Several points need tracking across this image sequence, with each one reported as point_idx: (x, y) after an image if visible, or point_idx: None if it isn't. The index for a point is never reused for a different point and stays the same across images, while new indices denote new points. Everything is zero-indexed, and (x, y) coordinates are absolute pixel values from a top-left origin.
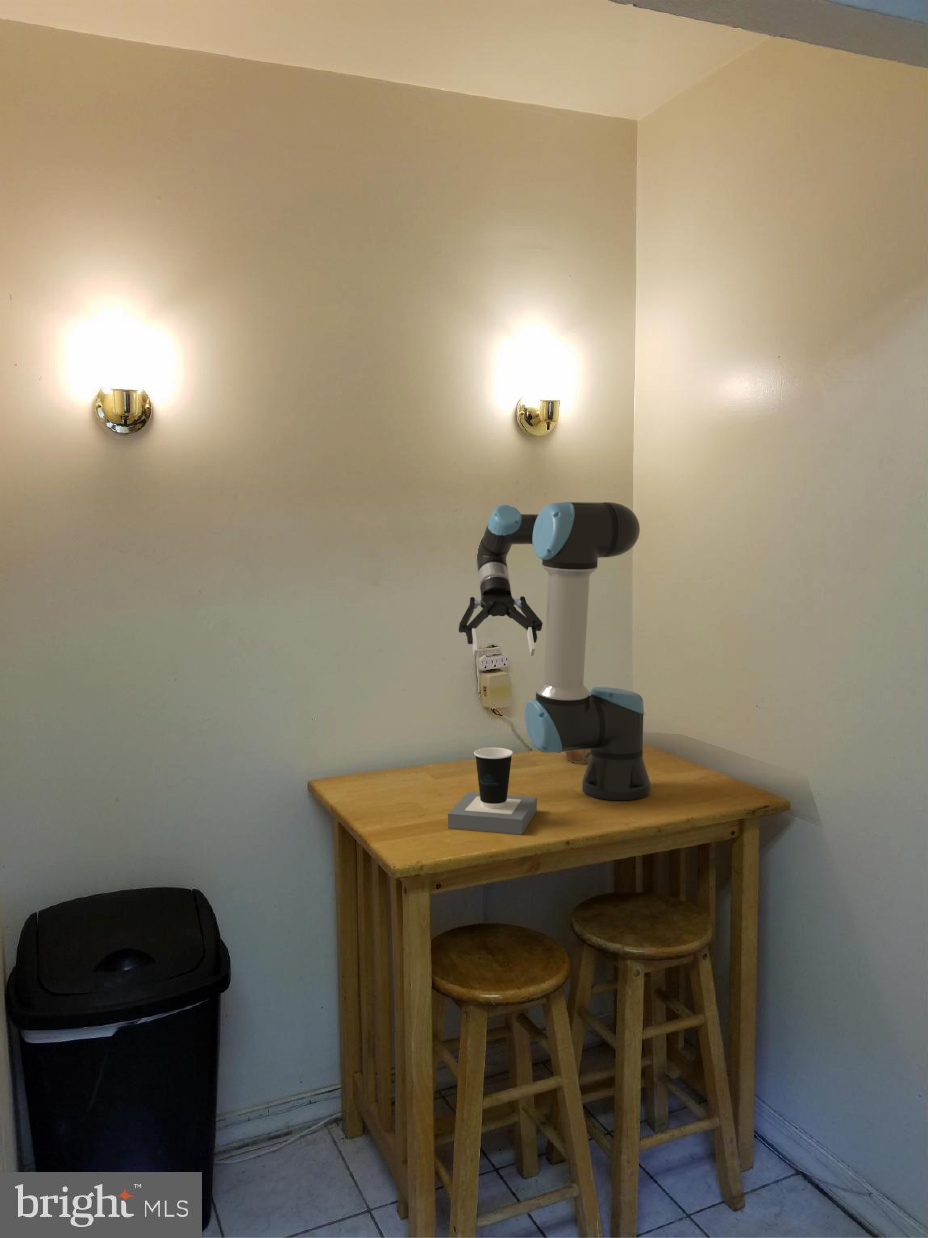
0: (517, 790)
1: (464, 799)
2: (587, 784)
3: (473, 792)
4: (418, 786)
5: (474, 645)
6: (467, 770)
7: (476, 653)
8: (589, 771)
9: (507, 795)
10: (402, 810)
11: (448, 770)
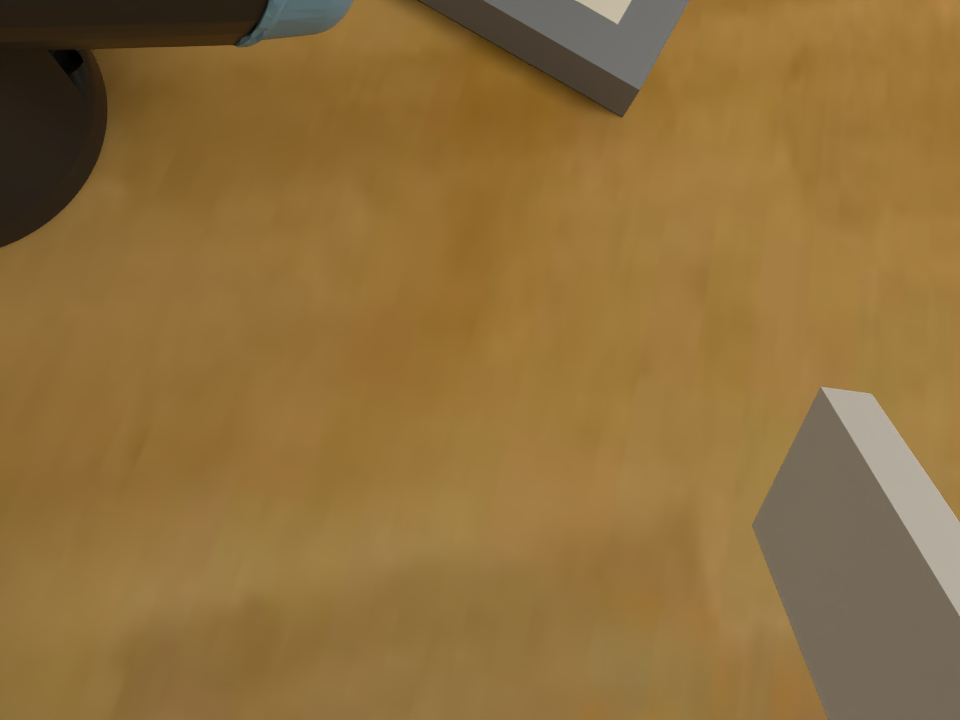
0: (376, 247)
1: (670, 7)
2: (89, 74)
3: (619, 78)
4: (774, 419)
5: (908, 456)
6: (516, 627)
7: (797, 457)
8: (51, 57)
9: (496, 2)
10: (859, 137)
11: (607, 650)
